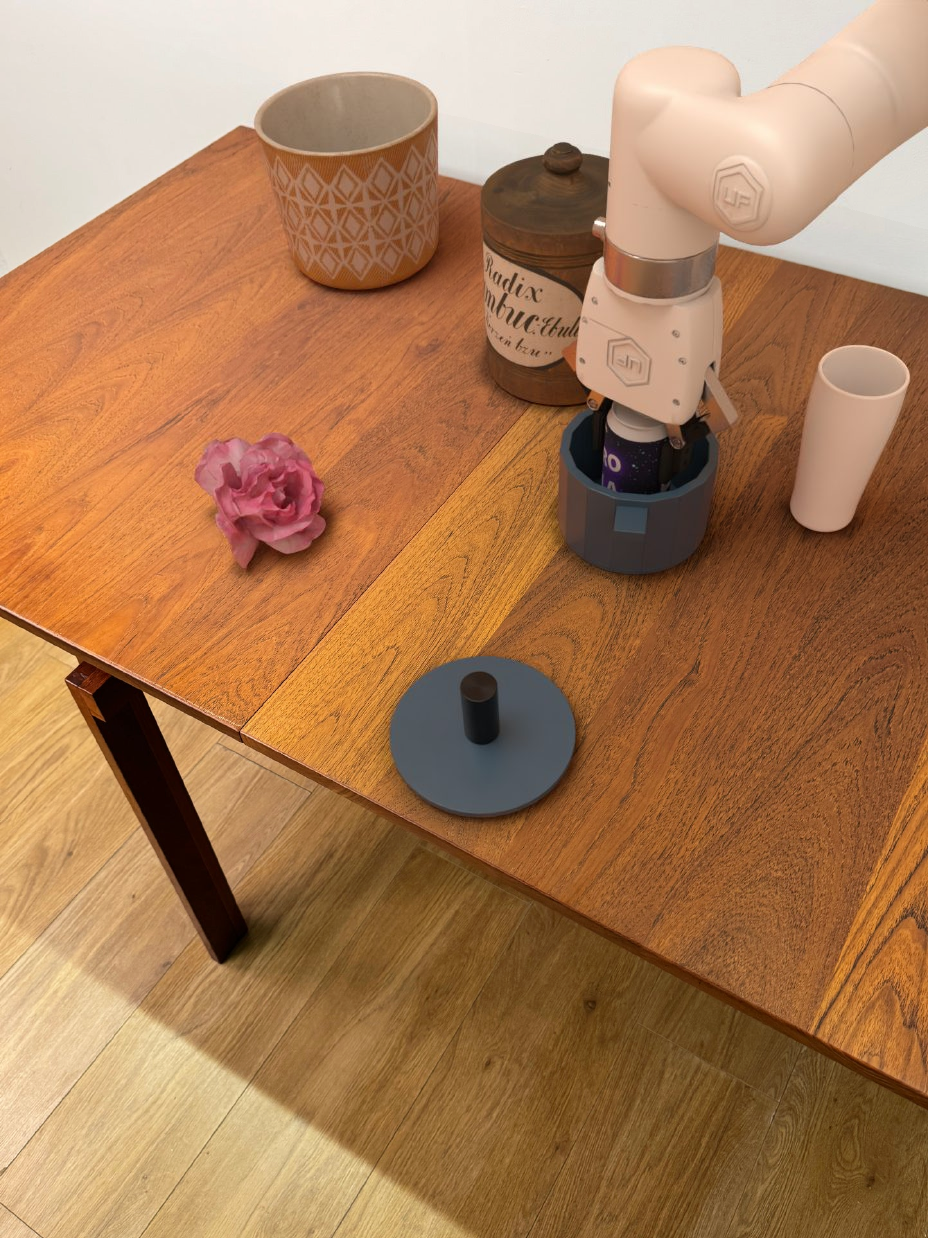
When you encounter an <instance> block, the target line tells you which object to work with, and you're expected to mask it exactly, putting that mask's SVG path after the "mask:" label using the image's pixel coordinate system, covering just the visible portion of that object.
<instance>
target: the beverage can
mask: <svg viewBox="0 0 928 1238" xmlns="http://www.w3.org/2000/svg"><path fill="white" fill-rule="evenodd" d="M668 439H669V437H668V433H667V428H666V424H665V423H663V422H661V421H658V420H656V419H654V418H651V417H649V416H647V415H645V414H642V413H640V412H638V411H636V410H633V409H631V408H629V407H627V406H625V405H622V404H620V403H618V402H616V401H613V404H612V408H611V409H610V410H609V412H608V414H607V416H606V426H605V441H604V456H603V471H602V486H604V487H606V488H609V489H611V490H614V491H617V492H621V493H632V494H644V495H651V494H656V493H661V492H667V491H670V485H671V481H670V482H669V483H668V484H666V485H664V484H662V483H660V482H659V480H658V473H659V465H660V457H661V449H662V446H663V444H664V443H665V442H666V441H667V440H668Z"/></svg>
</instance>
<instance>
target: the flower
mask: <svg viewBox="0 0 928 1238" xmlns="http://www.w3.org/2000/svg"><path fill="white" fill-rule="evenodd" d="M193 476H194V481H195V482H196V483H197V484H198V486H199V487H200V489H202V490H203V491H205V492H206V493H207V494H208V495H209V496H210V497H212V499H213V501H214V503H215V505H216V507H217V513H215V516H214V519H215V524H216V527H218V529H219V530H221V532H222V533H223V534H224V535H225V537H226V539H227V541H228V543H229V544H230V548H231V549H230V552H231V553H232V555H233V558H234V559H235V561H236V563H237V564H238V565H239V566H240V568H242V569H247V567H248V564H249V563H250V562H251V560H252V558H253V557H254V554H255V552H256V549H257V548H258V547H259V545H260V541H262V542H264V543H265V544H266V545H268V546H270V547H271V548H273V549H275V550H276V551H279V552H280V553H283V554H285V555H287V554H288V555H289V554H294V553H296V552H297V553H298V552H301V551H303V550H305V549H308V548H309V547H310V546H311V544H312V543H313V540H315V539H317V538H318V537H320V536H321V535H322V534H323V532H324V531H325V529H326V526H327V523H326V520H325V518H323V517H322V516H321V515H319V514H318V513H319V511H320V509H321V508H320V507H321V506H322V501H321V500H322V499H323V493H324V490H325V485H324V481H323V480H322V479H320V478H319V477H318V476H317V474H316V472H315V470H314V468H313V465H312V462H311V459H310V457H309V456H308V454H306V452H304V450H303V449H302V448H301V446H300V445H298V444H296V443H295V442H294V441H293V440H292V439H291V438H290V437H289V436H286V435H285V434H283V433H281V432H269V433H265V434H264V435H263V436H262V437H261V438H260V439H259V440H258V442H254V443H252V444H251V443H250V442H248V441H247V440H245V439H244V438H241V437H236V436H234V437H231V438H229V439H226V440H223V441H220V440H219V439H217V438H215V439H213V440H212V441H210V442H209V443H208V444H206V445H205V446H204V448H203V451H202V454H201V457H200V458H199V461H198V463H197V465H196V467H195V469H194V474H193Z"/></svg>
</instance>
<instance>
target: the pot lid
mask: <svg viewBox="0 0 928 1238" xmlns="http://www.w3.org/2000/svg"><path fill="white" fill-rule="evenodd" d="M412 683H413V684H411V686H409V688H407V690H406V691H405V692H404V694H403V695H402V697H401V698H400V699H399V701H398V703H397V705H396V707H395V709H394V712H393V714H392V716H391V721H390V726H389V738H388V741H389V747H390V753H391V758H392V761H393V764H394V766H395V768H396V771H397V773H398V775H399V776H400V778H401V779H402V781H403V782H404V784H405V785H406V786H407V787H408V789H410V791H411V792H412V793H414V795H416V796H417V797H419V799H420V800H422V801H424V802H426V803H427V804H429V805H430V806H433V807H435V808H436V809H439V810H440V811H444V812H445V813H446V812H447V813H450V814H452V815H457V816H462V817H467V818H468V817H469V818H493V817H500V816H505V815H509V814H512V813H516V812H519V811H521V810H523V809H526V808H528V807H530V806H532V805H533V804H535V803H537V802H539V801H540V800H541V799H542V798H544V797H545V796H547V795H548V794H549V793H550V792H551V791H552V790H553V789H554V788H555V787H556V786H557V785H558V784H559V782H560V781H561V780H562V779H563V777H564V776H565V774H566V773H567V770H568V769H569V767H570V765H571V762H572V759H573V756H574V752H575V747H576V735H577V730H576V721H575V717H574V712H573V710H572V708H571V705H570V703H569V701H568V699H567V698H566V696H565V694H564V693H563V692H562V691H561V689H560V688H559V687H558V685H557V684H556V683H555V682H553V681H552V680H551V678H549V677H548V676H547V675H545V674H544V673H543V672H541V671H540V670H538V669H536V668H535V667H533V666H531V665H528V664H526V663H524V662H521V661H518V660H515V659H511V658H508V657H501V656H494V655H493V656H490V655H478V656H469V657H468V656H467V657H462V658H459V659H455V660H451V661H448V662H446V663H443V664H440V665H439V666H437V667H436V666H435V668H433V669H431V670H429V671H428V672H426V673H425V674H423V675H421V677H419V678H418V679H417V680H415V682H412Z"/></svg>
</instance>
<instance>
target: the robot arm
mask: <svg viewBox="0 0 928 1238" xmlns="http://www.w3.org/2000/svg"><path fill="white" fill-rule="evenodd" d="M741 82H742V81H741V76H740V74H739V72H738V70H737V68H736V66H735V65H734V64H733V62H732V61H731V60H730V59H729V58H727V57H726V56H725V55H723V54H721V53H719V52H716V51H714V50H712V49H708V48H703V47H698V46H692V45H691V46H689V45H671V46H670V45H669V46H662V47H656V48H653V49H648V50H646V51H643V52H641V53H638V54H637V55H635V56H634V57H632V58H631V59H630V60H628V61H627V62H626V63H625V64H624V65H623V67H622V68H621V69H620V71H619V73H618V74H617V77H616V79H615V83H614V87H613V93H612V95H613V96H612V106H611V123H610V142H609V157H608V158H609V176H608V194H607V211H606V218H604V217H598V218H597V219H596V220H595V222H594V224H593V228H592V233H593V235H594V236H596V237H599V238H600V239H601V240H602V241H603V242H604V245H603V257H601V258H600V259H598V260H597V261H596V262H595V264H594V266H593V269H592V272H591V275H590V279H589V282H588V286H587V290H586V294H585V298H584V302H583V307H582V312H581V318H580V325H579V332H578V338H577V339H575V340H574V341H573V342H571V343H570V344H569V345H568V346H566V347H565V348H564V349H563V350H562V355H563V357H564V358H565V360H566V361H567V362H568V364H569V365H570V367H571V368H572V370H573V371H576V378H577V380H578V382H579V383H580V385H581V386H582V388H583V389H584V391H585V392H586V394H587V396H588V399H587V402H586V405H587V407H588V408H590V409H591V410H593V423H592V433H594V435H593V450H594V451H596V452H598V453H600V452H603V451H604V441H605V426H606V416H607V414H608V412H609V410H610V409H611V408H612V404H613V401H616V402H618V403H620V404H622V405H625V406H627V407H629V408H631V409H633V410H636V411H638V412H640V413H642V414H645V415H647V416H649V417H651V418H654V419H656V420H658V421H661V422H663V423H665V424H666V428H667V433H668V437H669V439H668V440H667V441H666V442H665V443H664V444H663V446H662V449H661V457H660V465H659V473H658V480H659V482H660V483H662V484H664V485H666V484H668V483H669V482H670V481H671V480H672V479H673V478H674V477H675V476H676V475H677V474H679V475H681V474H682V473H683V472H684V471H685V470H686V469H687V468H688V466H689V463H690V458H691V452H692V445H693V442H694V441H697V440H700V439H702V438H704V437H706V436H707V435H709V434H714V435H715V434H717V433H721V432H724V431H727V430H729V429H730V428H731V427H732V426H733V425H734V424H735V423H736V422H737V421H738V420H739V416H740V415H739V414H738V411H737V410H736V408H735V406H734V405H733V403H732V401H731V399H730V397H729V395H728V394H727V392H726V391H725V389H724V387H723V385H722V383H721V381H720V380H719V377H720V376H719V375H720V369H721V361H722V354H723V353H722V351H723V337H724V336H723V335H724V304H723V303H724V302H723V290H722V289H723V288H722V282H721V279H720V278H719V277H718V276H717V275H715V270H716V264H717V257H718V251H719V245H720V237H721V234H723V235H725V236H727V237H728V238H729V239H732V240H735V241H737V242H739V243H742V244H746V245H750V246H754V247H755V246H756V247H769V246H776V245H779V244H781V243H784V242H787V241H788V240H791V239H792V238H793V237H795V236H796V235H798V234H800V233H801V232H802V231H804V229H806V228H807V227H808V226H809V225H810V224H811V223H813V221H815V220H816V219H817V218H818V217H819V216H820V215H821V214H822V213H823V212H825V210H827V209H828V208H829V207H830V206H831V205H833V203H835V202H836V200H837V199H838V198H839V197H840V195H842V194H844V192H845V191H847V190H848V189H849V188H850V187H851V186H852V185H853V184H855V182H857V181H858V180H859V179H860V178H861V177H863V176H864V175H865V174H866V173H867V172H868V171H870V170H871V169H872V168H873V167H874V166H875V165H877V164H878V163H879V162H880V161H882V160H884V158H885V157H887V156H888V155H889V154H891V153H892V152H894V151H895V150H896V149H897V148H899V147H900V146H902V145H903V144H905V143H906V142H907V141H909V140H910V139H912V138H913V137H915V136H916V135H918V134H919V133H920V132H922V131H923V130H925V129H926V128H928V0H875V1H874V2H873V3H872V4H870V5H869V6H868V7H867V8H866V9H864V10H863V11H862V12H861V13H860V14H858V16H856V17H855V18H854V19H853V20H852V21H850V22H849V23H848V24H847V25H845V26H844V27H843V28H842V29H841V30H839V31H838V32H837V33H835V35H834V36H832V37H831V38H830V39H829V40H827V41H826V42H824V44H822V45H821V46H820V47H819V48H818V49H816V50H815V51H813V52H812V53H811V54H810V55H809V56H807V57H805V58H804V59H803V60H802V61H800V62H799V63H797V64H796V65H795V66H793V67H792V68H790V69H789V70H788V71H786V72H785V73H783V74H782V75H781V76H779V77H778V78H776V79H775V80H774V81H773V82H771V83H770V84H769V85H768V86H766V87H764V88H763V89H761V90H758V91H754V92H752V93H748V94H746V95H742V83H741ZM700 401H702V403H703V405H704V406H705V408H706V410H707V412H706V413H704V414H702V415H701V412H700V406H699V404H700Z"/></svg>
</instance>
